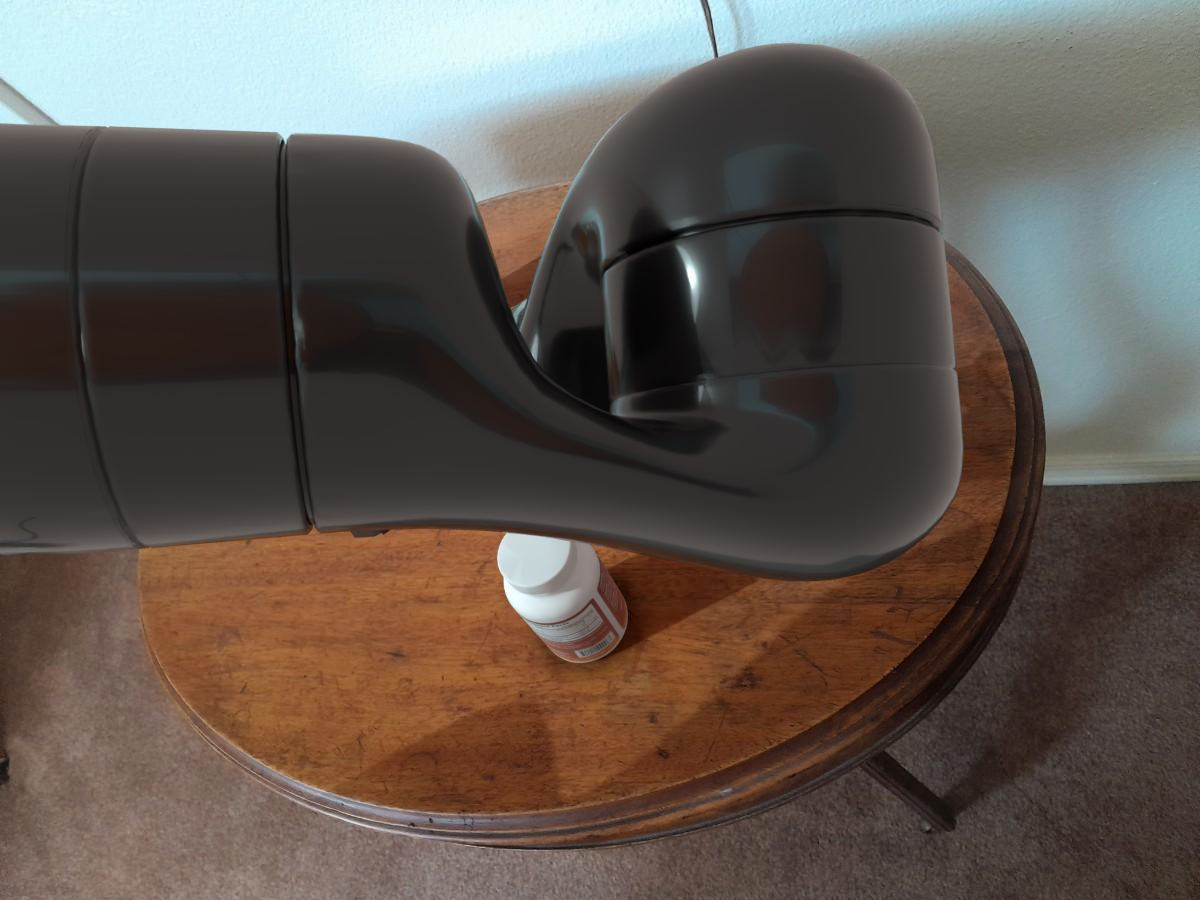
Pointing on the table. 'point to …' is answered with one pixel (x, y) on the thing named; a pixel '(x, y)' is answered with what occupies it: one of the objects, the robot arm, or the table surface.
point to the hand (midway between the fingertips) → (440, 443)
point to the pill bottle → (563, 595)
